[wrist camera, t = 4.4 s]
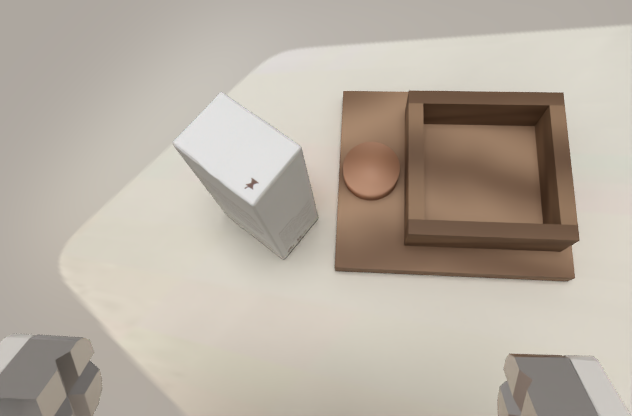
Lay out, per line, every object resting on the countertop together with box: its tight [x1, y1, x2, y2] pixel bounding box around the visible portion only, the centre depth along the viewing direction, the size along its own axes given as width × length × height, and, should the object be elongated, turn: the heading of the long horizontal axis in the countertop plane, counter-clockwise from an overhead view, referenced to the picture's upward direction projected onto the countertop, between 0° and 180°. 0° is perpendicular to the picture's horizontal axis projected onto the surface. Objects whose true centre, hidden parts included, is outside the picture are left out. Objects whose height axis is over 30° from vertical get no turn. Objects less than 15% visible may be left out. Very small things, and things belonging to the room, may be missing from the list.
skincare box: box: [173, 92, 318, 259], centre depth 32 cm, size 6×4×12 cm
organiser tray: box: [335, 91, 579, 281], centre depth 35 cm, size 14×16×4 cm
